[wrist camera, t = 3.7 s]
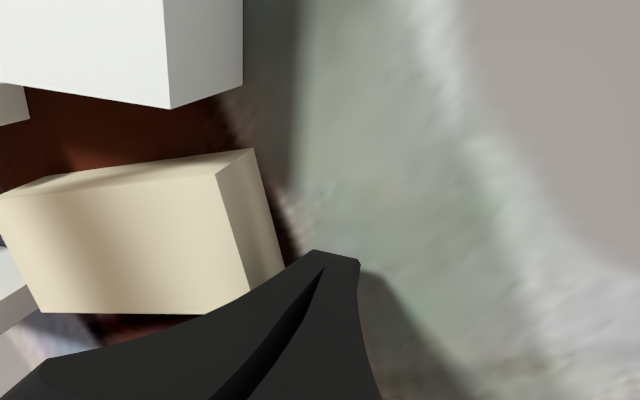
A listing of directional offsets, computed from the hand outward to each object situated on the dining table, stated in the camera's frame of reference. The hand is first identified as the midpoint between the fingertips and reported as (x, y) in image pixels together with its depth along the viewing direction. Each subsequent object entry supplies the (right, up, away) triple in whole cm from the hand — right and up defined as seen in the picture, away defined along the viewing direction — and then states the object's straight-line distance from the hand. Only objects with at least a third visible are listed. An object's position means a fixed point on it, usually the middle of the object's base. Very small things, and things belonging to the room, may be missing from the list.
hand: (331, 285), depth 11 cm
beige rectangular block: (-5, +2, +3) cm, 6 cm away
